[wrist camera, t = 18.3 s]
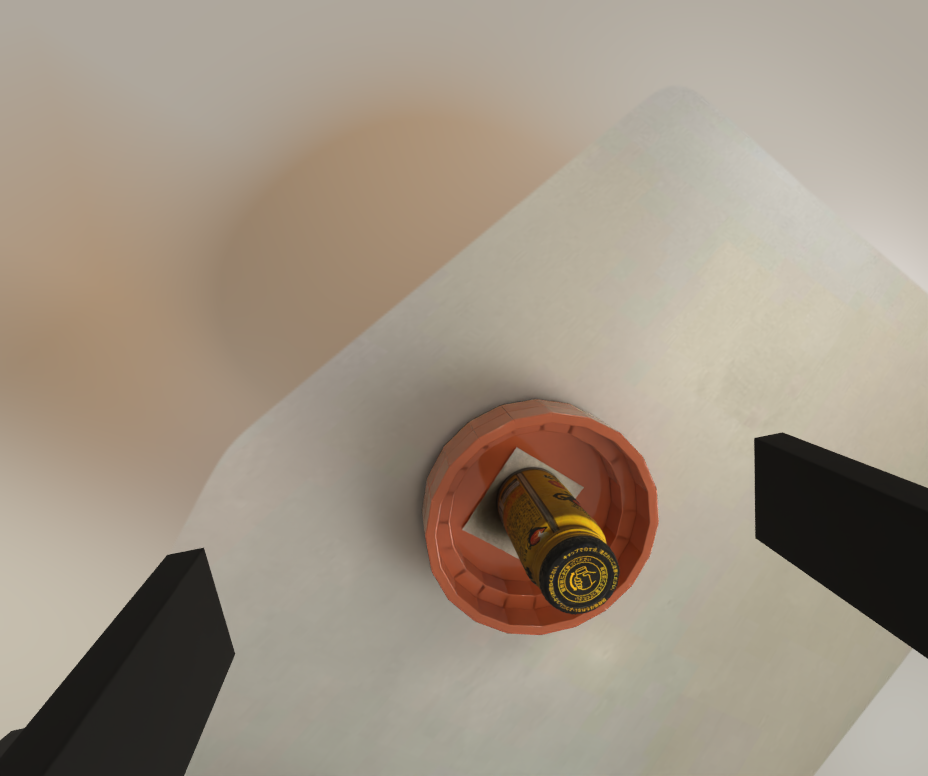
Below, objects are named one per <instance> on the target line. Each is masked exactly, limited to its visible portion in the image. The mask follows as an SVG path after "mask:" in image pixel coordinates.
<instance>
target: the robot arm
mask: <svg viewBox="0 0 928 776" xmlns="http://www.w3.org/2000/svg"><path fill="white" fill-rule="evenodd" d="M754 451H755V536H756V539H758V540H759V541H760V542H762V543H763V544H765V545H766V546H768V547H769V548H770V549H772V550H773V551H775V552H776V553H778V554H779V555H780V556H782V557H783V558H785V559H786V560H788V561H789V562H790V563H792V564H793V565H795V566H796V567H798V568H799V569H800V570H802V571H803V572H805V573H806V574H808V575H809V576H810V577H812V578H813V579H815V580H816V581H818V582H819V583H820V584H822V585H823V586H825V587H826V588H828V589H829V590H830V591H832V592H833V593H835V594H836V595H838V596H839V597H840V598H842V599H843V600H845V601H846V602H848V603H849V604H850V605H852V606H853V607H855V608H856V609H858V610H859V611H860V612H862V613H863V614H865V615H866V616H868V617H869V618H870V619H872V620H873V621H875V622H876V623H878V624H879V625H880V626H882V627H883V628H885V629H886V630H888V631H889V632H890V633H892V634H893V635H895V636H896V637H898V638H899V639H900V640H902V641H903V642H905V643H906V644H908V645H909V646H910V647H912V648H913V649H915V650H916V651H918V652H919V653H920V654H922V655H923V656H925V657H926V658H928V488H926V487H924V486H921V485H918V484H916V483H913V482H911V481H908V480H905V479H903V478H900V477H898V476H895V475H892V474H890V473H887V472H884V471H882V470H879V469H877V468H874V467H871V466H869V465H866V464H864V463H861V462H858V461H856V460H853V459H850V458H848V457H845V456H843V455H840V454H837V453H835V452H832V451H830V450H827V449H824V448H822V447H819V446H816V445H814V444H811V443H809V442H806V441H803V440H801V439H798V438H796V437H793V436H790V435H788V434H785V433H778V434H773V435H768V436H763V437H758V438H754ZM234 656H235V652H234V648H233V645H232V642H231V638H230V635H229V632H228V628H227V625H226V621H225V618H224V615H223V611H222V608H221V604H220V601H219V598H218V594H217V591H216V587H215V584H214V581H213V577H212V574H211V570H210V567H209V564H208V560H207V557H206V554H205V550H204V548H200V549H195V550H190V551H185V552H180V553H175V554H170V555H167V556H166V557H165V558H164V560H163V561H162V562H161V563H160V565H159V566H158V567H157V568H156V569H155V571H154V572H153V573H152V574H151V575H150V577H149V578H148V579H147V580H146V581H145V583H144V584H143V585H142V586H141V587H140V589H139V590H138V591H137V592H136V594H135V595H134V596H133V597H132V598H131V600H130V601H129V602H128V603H127V604H126V606H125V607H124V608H123V610H122V611H121V612H120V613H119V614H118V615H117V617H116V618H115V619H114V620H113V622H112V623H111V624H110V625H109V626H108V628H107V629H106V630H105V631H104V633H103V634H102V635H101V636H100V637H99V638H98V640H97V641H96V642H95V643H94V645H93V646H92V647H91V648H90V650H89V651H88V652H87V653H86V654H85V655H84V657H83V658H82V659H81V660H80V662H79V663H78V664H77V665H76V667H75V668H74V669H73V670H72V671H71V672H70V674H69V675H68V676H67V677H66V679H65V680H64V681H63V682H62V684H61V685H60V686H59V687H58V688H57V689H56V691H55V692H54V693H53V694H52V696H51V697H50V698H49V699H48V700H47V702H46V703H45V704H44V705H43V707H42V708H41V709H40V710H39V712H38V713H37V714H36V715H35V716H34V717H33V719H32V720H31V721H30V722H29V723H28V725H27V726H26V727H25V728H23V729H19V730H14V731H11V732H10V733H9V734H7V735H6V736H5V737H4V738H3V739H1V740H0V776H184V774H185V772H186V770H187V767H188V765H189V763H190V760H191V758H192V755H193V753H194V751H195V748H196V746H197V744H198V741H199V739H200V736H201V734H202V732H203V729H204V727H205V725H206V722H207V720H208V717H209V715H210V713H211V710H212V708H213V706H214V703H215V701H216V698H217V696H218V694H219V691H220V689H221V687H222V684H223V682H224V679H225V677H226V675H227V672H228V670H229V667H230V665H231V663H232V660H233V658H234Z"/></svg>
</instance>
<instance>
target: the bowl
mask: <svg viewBox="0 0 928 776" xmlns="http://www.w3.org/2000/svg"><path fill="white" fill-rule="evenodd" d="M516 447H517V448H519V449H520V450H522V451H524V452H525V453H527V454H529V455H530V456H532V457H534V458H536V459H538V460H539V461H541V462H543V463H544V464H546V465H548V466H549V467H551V468H553V469H554V470H556V471H558V472H559V473H561V474H563V475H564V476H566V477H568V478H569V479H571V480H573V481H574V482H576V483H578V484H579V485H581V486H582V487H584V488H583V489H582V490H581V492H580V493H579V494H578V496H577V497H576V500H577V501H578V502H579V503H580V505H581V506H582V507H583V508H584V510H585V511H586V512H587V513H588V514H589V515H590V517H591V518H592V519H594V520H595V522H596V523H597V525H598V526H599V527H600V528H601V530H602V532H603V534H604V536H605V539H606V544H607V545H608V546H609V547H610V548H611V550H612V551H613V552H614V554H615V556H616V559H617V561H618V565H619V569H620V574H619V578H618V585H617V587H616V589H615V591H614V592H613V594H612V595H611V597H610V598H609V599H608V600H607V601H606V602H605V604H603V605H601V606H600V607H598V608H596V609H595V610H592V611H590V612H588V613H583V614H576V615H574V614H568V613H564V612H561V611H560V610H558V609H556V608H554V607H553V606H552V605H550V604H549V602H548V601H547V600H546V599H545V597H544V596H543V595H542V593H541V590H540V589H539V587H537V586H536V585H535V584H534V583H533V582H532V581H531V580H530V579H529V577H528V576H527V574H526V572H525V570H524V568H523V566H522V564H521V561H520V560H519V559H518V558H516V557H514V556H512V555H510V554H508V553H506V552H505V551H503V550H502V549H499V548H497V547H495V546H493V545H491V544H490V543H488V542H485V541H484V540H482V539H480V538H478V537H476V536H474V535H472V534H469V533H467V532H465V531H463V530H462V529H463V528H464V526H465V525H466V523H467V522H468V521H469V519H470V517H471V515H472V514H473V512H474V510H475V509H476V508H477V506H478V505H479V503H480V502H481V500H482V499H483V498H484V496H485V494H486V493H487V491H488V489H489V488H490V486H491V485H492V483H493V482H494V480H495V478H496V477H497V475H498V474H499V472H500V471H501V470H502V468H503V467H504V465H505V464H506V462H507V461H508V459H509V458H510V456H511V455H512V453H513V452H514V450H515V449H516ZM422 516H423V524H424V531H425V538H426V544H427V550H428V555H429V561H430V566H431V570H432V573H433V575H434V576H435V578H436V580H437V581H438V583H439V585H440V586H441V588H442V590H443V592H444V593H445V595H446V597H447V598H448V600H449V601H451V602H452V603H453V604H454V605H455V606H457V607H458V608H459V609H460V610H462V611H463V612H464V613H465V614H466V615H468V616H469V617H470V618H471V619H473V620H474V621H476V622H478V623H481V624H483V625H486V626H489V627H492V628H494V629H497V630H500V631H502V632H505V633H511V634H530V635H543V634H547V633H552V632H556V631H560V630H564V629H569V628H573V627H576V626H578V625H580V624H582V623H584V622H586V621H587V620H589V619H591V618H593V617H595V616H597V615H598V614H600V613H602V612H604V611H606V609H608V608H609V607H610V606H611V605H612V604H613V603H614V602H615V601H616V600H617V599H618V598H619V597H621V596H622V595H623V594H624V593H625V592H626V591H627V590H628V589H629V588H630V587H631V586H632V585H633V583H634V582H635V580H636V578H637V577H638V575H639V573H640V572H641V570H642V568H643V567H644V565H645V563H646V562H647V560H648V558H649V557H650V554H651V550H652V547H653V543H654V539H655V535H656V531H657V527H658V522H659V518H658V502H657V489H656V486H655V484H654V481H653V479H652V477H651V474H650V472H649V469H648V467H647V465H646V462H645V460H644V458H643V457H642V455H641V454H640V453H639V452H638V451H637V450H636V449H635V448H634V447H633V446H632V445H631V444H630V443H629V442H628V441H627V439H626V438H625V437H624V436H623V435H622V434H621V433H620V432H618V431H616V430H615V429H613V428H612V427H610V426H609V425H607V424H606V423H604V422H603V421H601V420H600V419H598V418H596V417H594V416H592V415H591V414H589V413H587V412H585V411H583V410H581V409H579V408H577V407H575V406H573V405H571V404H568V403H560V402H553V401H546V400H539V399H536V400H535V399H533V400H528V401H522V402H517V403H511V404H505V405H501V406H498V407H496V408H495V409H493V410H491V411H489V412H487V413H485V414H483V415H481V416H479V417H477V418H475V419H474V420H472V421H470V422H468V423H467V424H466V425H465V426H464V427H463V428H462V429H461V430H460V431H459V432H458V433H457V434H456V435H455V436H454V437H453V438H452V439H451V440H450V441H449V442H448V443H447V444H446V445H445V446H444V448H443V449H442V451H441V453H440V455H439V457H438V458H437V460H436V462H435V464H434V466H433V468H432V470H431V472H430V474H429V476H428V478H427V482H426V488H425V494H424V500H423V506H422Z"/></svg>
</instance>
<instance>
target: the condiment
mask: <svg viewBox="0 0 928 776" xmlns="http://www.w3.org/2000/svg"><path fill="white" fill-rule="evenodd" d="M583 488H584V487H582V486H581V485H579V484H578V483H576V482H574V481H573V480H571V479H569V478H568V477H566V476H564V475H563V474H561V473H559V472H558V471H556V470H554V469H553V468H551V467H549V466H548V465H546V464H544V463H543V462H541V461H539V460H538V459H536V458H534V457H532V456H530V455H529V454H527V453H525V452H524V451H522V450H520V449H519V448H517V447H516V449H515V450H514V452H513V453H512V455H511V456H510V458H509V459H508V461H507V462H506V464H505V465H504V467H503V468H502V470H501V471H500V472H499V474H498V475H497V477H496V478H495V480H494V482H493V483H492V485H491V486H490V488H489V489H488V491H487V493H486V494H485V496H484V498H483V499H482V500H481V502H480V503H479V505H478V506H477V508H476V509H475V510H474V512H473V514H472V515H471V517H470V519H469V521H468V522H467V523H466V525H465V526H464V528H463V529H462V530H463V531H465V532H467V533H469V534H472V535H474V536H476V537H478V538H480V539H482V540H484V541H485V542H488V543H490V544H491V545H493V546H495V547H497V548H499V549H502V550H503V551H505V552H506V553H508V554H510V555H512V556H514V557H516V558H518V559H519V560H520V561H521V564H522V566H523V568H524V570H525V572H526V574H527V576H528V577H529V579H530V580H531V581H532V582H533V583H534V584H535V585H536V586H537V587H539V589H540V590H541V593H542V595H543V596H544V597H545V599H546V600H547V601H548V602H549V604H550V605H552V606H553V607H554V608H556V609H558V610H560V611H561V612H564V613H568V614H574V615H576V614H583V613H588V612H590V611H592V610H595V609H596V608H598V607H600V606H601V605H603V604H605V602H606V601H607V600H608V599H609V598H610V597H611V595H612V594H613V592H614V591H615V589H616V587H617V585H618V578H619V574H620V569H619V565H618V561H617V559H616V556H615V554H614V552H613V551H612V550H611V548H610V547H609V546H608V545H607V544H606V539H605V536H604V534H603V532H602V530H601V528H600V527H599V526H598V525H597V523H596V522H595V520H594V519H592V518H591V517H590V515H589V514H588V513H587V512H586V511H585V510H584V508H583V507H582V506H581V505H580V503H579V502H578V501H577V500H576V497H577V496H578V494H579V493H580V492H581V490H582V489H583Z"/></svg>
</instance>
